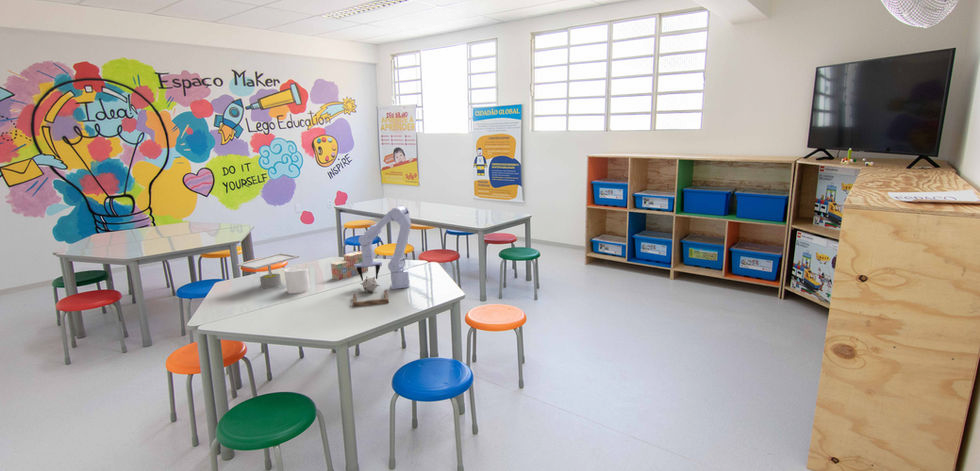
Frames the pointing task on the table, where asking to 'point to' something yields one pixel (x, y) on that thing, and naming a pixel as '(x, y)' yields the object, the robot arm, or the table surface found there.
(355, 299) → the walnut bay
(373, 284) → the game die
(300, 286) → the cup
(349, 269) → the stack of blocks
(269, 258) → the solar panel model
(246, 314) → the table surface
